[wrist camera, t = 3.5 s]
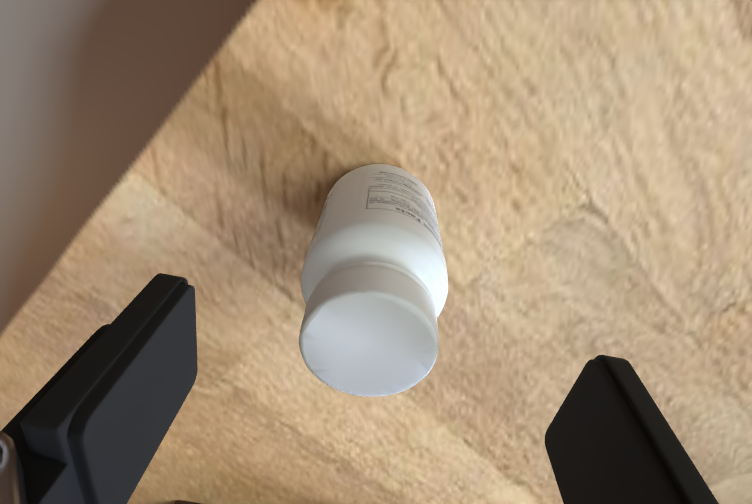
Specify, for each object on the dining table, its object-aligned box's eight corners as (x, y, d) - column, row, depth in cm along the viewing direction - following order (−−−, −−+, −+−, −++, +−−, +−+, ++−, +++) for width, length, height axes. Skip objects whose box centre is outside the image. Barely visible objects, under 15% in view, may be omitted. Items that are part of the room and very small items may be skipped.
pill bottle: (358, 276, 19) (336, 429, 12) (304, 191, 17) (242, 317, 10) (452, 236, 17) (487, 381, 11) (405, 140, 16) (411, 244, 9)
